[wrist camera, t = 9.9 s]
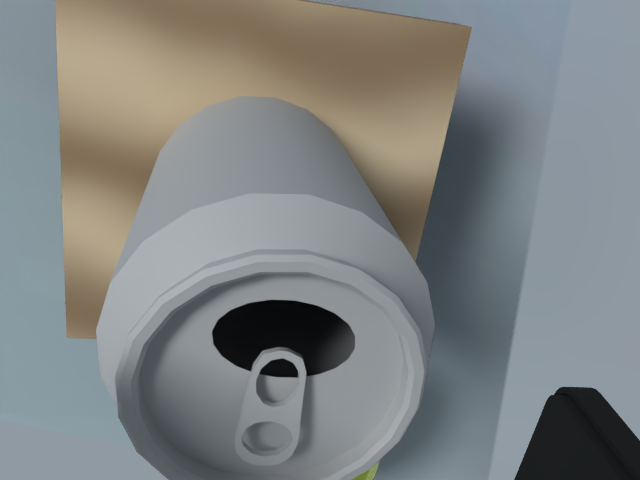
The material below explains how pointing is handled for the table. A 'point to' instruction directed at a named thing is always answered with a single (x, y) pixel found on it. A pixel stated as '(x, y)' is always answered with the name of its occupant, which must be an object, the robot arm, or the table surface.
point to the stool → (230, 82)
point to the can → (263, 306)
